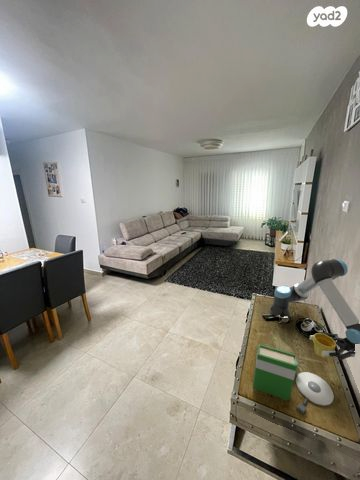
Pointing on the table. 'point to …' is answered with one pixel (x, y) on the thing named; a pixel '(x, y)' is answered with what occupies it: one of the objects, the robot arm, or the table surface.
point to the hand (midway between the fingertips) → (316, 344)
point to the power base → (313, 390)
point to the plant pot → (323, 344)
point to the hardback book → (274, 372)
